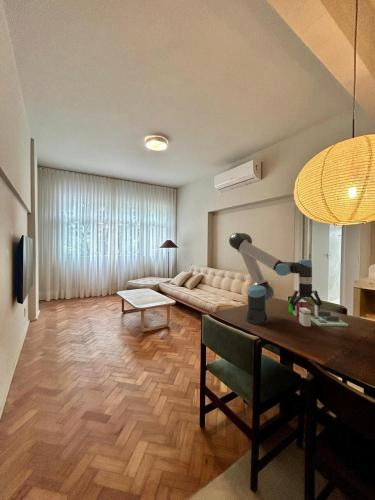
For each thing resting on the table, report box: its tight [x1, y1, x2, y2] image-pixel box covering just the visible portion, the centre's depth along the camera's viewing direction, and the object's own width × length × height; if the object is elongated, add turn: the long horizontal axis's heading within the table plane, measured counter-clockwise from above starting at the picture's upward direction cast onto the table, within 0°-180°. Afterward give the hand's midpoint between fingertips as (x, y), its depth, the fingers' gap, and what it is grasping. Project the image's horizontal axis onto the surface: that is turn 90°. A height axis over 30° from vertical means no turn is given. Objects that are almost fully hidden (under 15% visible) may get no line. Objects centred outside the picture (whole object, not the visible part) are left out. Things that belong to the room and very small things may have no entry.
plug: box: [298, 308, 312, 327], centre depth 142 cm, size 4×8×10 cm, turn 177°
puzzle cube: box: [288, 298, 309, 316], centre depth 164 cm, size 10×10×10 cm
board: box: [311, 310, 349, 327], centre depth 146 cm, size 18×17×4 cm
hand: (305, 315), depth 141 cm, fingers open, 13 cm apart
